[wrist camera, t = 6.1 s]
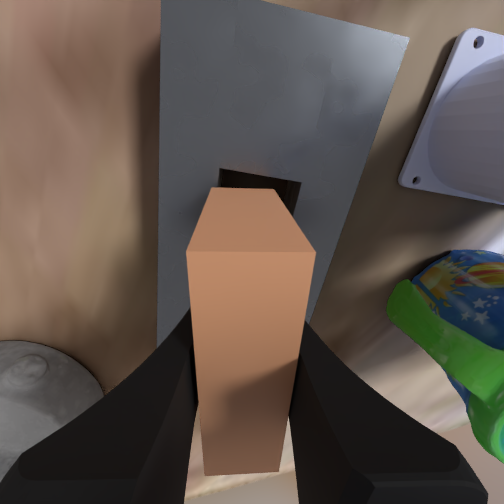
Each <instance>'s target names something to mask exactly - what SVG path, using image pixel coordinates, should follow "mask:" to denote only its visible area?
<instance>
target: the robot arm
mask: <svg viewBox="0 0 504 504" xmlns="http://www.w3.org/2000/svg"><path fill="white" fill-rule="evenodd" d="M475 39H477V42H478V43H477V46H476V48H474V46H473V43H474V40H475ZM415 177H417V180H416V182H415V183H412V181H413V179H414V178H415ZM398 182H399V184H400V185H401V186H404V187H408V188H413V189H419V190H424V191H430V192H435V193H441V194H446V195H452V196H457V197H463V198H468V199H474V200H479V201H485V202H490V203H496V204H501V205H504V35H500V34H496V33H492V32H488V31H485V30H481V29H477V28H470V29H467V30H465V31H463V32H462V33H461V34H459V35H458V37H457V39H456V41H455V43H454V46H453V48H452V50H451V53H450V55H449V58H448V60H447V62H446V65H445V67H444V70H443V72H442V74H441V77H440V79H439V82H438V84H437V86H436V89H435V91H434V94H433V96H432V98H431V101H430V103H429V106H428V108H427V111H426V113H425V115H424V118H423V120H422V123H421V125H420V127H419V130H418V132H417V135H416V137H415V139H414V142H413V144H412V147H411V149H410V151H409V154H408V156H407V159H406V161H405V163H404V166H403V168H402V171H401V173H400V175H399V178H398ZM198 402H199V401H198V389H197V377H196V365H195V353H194V341H193V329H192V317H191V306H190V308H189V309H188V311H187V312H186V314H185V315H184V316H183V318H182V319H181V320H180V322H179V323H178V324H177V325H176V327H175V328H174V329H173V330H172V332H171V333H170V334H169V335H168V336H167V338H166V339H165V340H164V341H163V342H162V343H161V344H160V345H159V346H158V348H157V349H156V350H155V351H154V352H153V353H152V354H151V355H150V356H149V357H148V358H147V359H146V360H145V361H144V362H143V363H142V364H141V365H140V366H139V367H138V368H137V369H136V370H135V371H134V372H132V373H131V374H130V375H129V376H128V377H127V378H126V379H124V380H123V381H122V382H121V383H120V384H119V385H118V386H116V387H115V388H114V389H113V390H111V391H110V392H109V393H108V394H107V395H105V396H104V397H103V398H101V399H100V400H99V401H97V402H96V403H95V404H93V405H92V406H91V407H89V408H88V409H87V410H85V411H84V412H83V413H81V414H80V415H79V416H77V417H76V418H75V419H73V420H72V421H70V422H69V423H67V424H66V425H64V426H63V427H61V428H60V429H58V430H57V431H55V432H54V433H52V434H51V435H49V436H48V437H46V438H45V439H43V440H41V441H40V442H38V443H37V444H35V445H34V446H32V447H31V448H29V449H27V450H26V451H24V452H23V453H22V454H21V455H20V456H19V457H18V459H17V460H16V461H15V463H14V464H13V465H12V467H11V468H10V469H9V470H8V472H7V473H6V474H5V476H4V477H3V479H2V480H1V482H0V504H184V497H185V489H186V481H187V473H188V465H189V458H190V450H191V443H192V436H193V428H194V422H195V417H196V411H197V407H198ZM288 416H289V422H290V429H291V437H292V445H293V453H294V462H295V471H296V479H297V489H298V498H299V504H487V501H488V493H487V491H486V489H485V488H484V486H483V485H482V483H481V482H480V480H479V479H478V477H477V476H476V474H475V473H474V471H473V470H472V468H471V467H470V465H469V464H468V462H467V461H466V459H465V458H464V457H463V455H462V454H461V453H460V451H459V450H458V449H457V447H456V446H455V445H454V444H452V443H451V442H449V441H447V440H446V439H444V438H443V437H441V436H440V435H438V434H436V433H435V432H433V431H432V430H430V429H429V428H427V427H425V426H424V425H422V424H421V423H419V422H418V421H416V420H415V419H413V418H412V417H410V416H409V415H407V414H406V413H405V412H403V411H402V410H400V409H399V408H398V407H396V406H395V405H393V404H392V403H391V402H389V401H388V400H387V399H385V398H384V397H383V396H381V395H380V394H379V393H378V392H376V391H375V390H374V389H373V388H371V387H370V386H369V385H368V384H366V383H365V382H364V381H363V380H362V379H360V378H359V377H358V376H357V375H356V374H355V373H354V372H352V371H351V370H350V369H349V368H348V367H347V366H346V365H345V364H344V363H343V362H342V361H341V360H340V359H339V358H338V357H337V356H336V355H335V354H334V353H333V352H332V351H331V350H330V349H329V348H328V347H327V345H326V344H325V343H324V342H323V341H322V340H321V339H320V337H319V336H318V335H317V334H316V333H315V331H314V330H313V329H312V328H311V327H310V325H309V324H308V323H307V321H306V320H304V326H303V332H302V338H301V344H300V350H299V356H298V362H297V368H296V373H295V379H294V385H293V391H292V397H291V403H290V409H289V415H288Z"/></svg>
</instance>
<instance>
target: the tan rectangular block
mask: <svg viewBox="0 0 504 504" xmlns="http://www.w3.org/2000/svg"><path fill="white" fill-rule="evenodd" d="M186 256H187V268H188V280H189V292H190V304H191V317H192V329H193V341H194V353H195V365H196V377H197V389H198V401H199V413H200V425H201V437H202V449H203V462H204V474H205V476H214V475H231V474H249V473H266V472H279V468H280V462H281V456H282V450H283V444H284V438H285V432H286V426H287V421H288V415H289V409H290V403H291V397H292V391H293V385H294V379H295V373H296V368H297V362H298V356H299V350H300V344H301V338H302V332H303V326H304V320H305V315H306V309H307V303H308V297H309V291H310V285H311V279H312V273H313V267H314V262H315V256H316V252H315V250H314V249H313V247H312V246H311V244H310V243H309V241H308V240H307V238H306V237H305V235H304V234H303V232H302V231H301V229H300V228H299V226H298V225H297V223H296V222H295V220H294V219H293V217H292V216H291V214H290V213H289V211H288V210H287V208H286V207H285V205H284V204H283V202H282V201H281V199H280V198H279V196H278V195H277V193H276V192H275V190H274V189H251V188H215V187H212V188H211V190H210V193H209V195H208V198H207V200H206V203H205V205H204V208H203V210H202V213H201V215H200V218H199V220H198V223H197V225H196V228H195V230H194V233H193V235H192V238H191V240H190V243H189V245H188V248H187V250H186Z"/></svg>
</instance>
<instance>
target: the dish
mask: <svg viewBox="0 0 504 504" xmlns="http://www.w3.org/2000/svg"><path fill="white" fill-rule="evenodd" d="M103 397H104V394H103V391H102V389H101V387H100V385H99V383H98V382H97V380H96V379H95V378H94V376H92V374H91V373H90V372H89V371H88V370H86V369H85V368H84V367H83V366H82V365H80V364H79V363H78V362H77V361H75V360H74V359H72V358H71V357H69V356H67V355H66V354H64V353H62V352H60V351H58V350H56V349H53V348H51V347H48V346H44V345H41V344H37V343H32V342H27V341H0V482H1V480H2V479H3V477H4V476H5V474H6V473H7V472H8V470H9V469H10V468H11V467H12V465H13V464H14V463H15V461H16V460H17V459H18V457H19V456H20V455H21V454H22V453H23V452H24V451H26V450H27V449H29V448H31V447H32V446H34V445H35V444H37V443H38V442H40V441H41V440H43V439H45V438H46V437H48V436H49V435H51V434H52V433H54V432H55V431H57V430H58V429H60V428H61V427H63V426H64V425H66V424H67V423H69V422H70V421H72V420H73V419H75V418H76V417H77V416H79V415H80V414H81V413H83V412H84V411H85V410H87V409H88V408H89V407H91V406H92V405H93V404H95V403H96V402H97V401H99V400H100V399H101V398H103Z"/></svg>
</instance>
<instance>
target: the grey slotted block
mask: <svg viewBox="0 0 504 504" xmlns="http://www.w3.org/2000/svg"><path fill="white" fill-rule="evenodd" d="M409 39H410V38H409V37H405V36H401V35H397V34H393V33H389V32H385V31H381V30H377V29H373V28H369V27H365V26H361V25H357V24H353V23H349V22H345V21H341V20H337V19H333V18H329V17H325V16H321V15H317V14H313V13H309V12H305V11H301V10H297V9H293V8H289V7H285V6H281V5H277V4H273V3H269V2H265V1H261V0H161V44H160V126H159V208H158V289H157V348H158V346H159V345H160V344H161V343H162V342H163V341H164V340H165V339H166V338H167V336H168V335H169V334H170V333H171V332H172V330H173V329H174V328H175V327H176V325H177V324H178V323H179V322H180V320H181V319H182V318H183V316H184V315H185V314H186V312H187V311H188V309H189V308H190V306H191V304H190V292H189V280H188V268H187V256H186V250H187V248H188V245H189V243H190V240H191V238H192V235H193V233H194V230H195V228H196V225H197V223H198V220H199V218H200V215H201V213H202V210H203V208H204V205H205V203H206V200H207V198H208V195H209V193H210V190H211V188H212V187H215V188H221V184H222V175H223V169H229V170H234V171H240V172H246V173H251V174H257V175H263V176H268V177H274V178H280V179H285V180H288V184H287V188H286V192H285V197H284V201H283V204H284V205H285V207H286V208H287V210H288V211H289V213H290V214H291V216H292V217H293V219H294V220H295V222H296V223H297V225H298V226H299V228H300V229H301V231H302V232H303V234H304V235H305V237H306V238H307V240H308V241H309V243H310V244H311V246H312V247H313V249H314V250H315V252H316V256H315V262H314V267H313V273H312V279H311V285H310V291H309V297H308V303H307V309H306V315H305V320H306V321H307V323H308V324H309V322H310V320H311V317H312V314H313V311H314V308H315V305H316V303H317V300H318V297H319V294H320V291H321V288H322V286H323V283H324V280H325V277H326V274H327V271H328V269H329V266H330V263H331V260H332V257H333V254H334V252H335V249H336V246H337V243H338V240H339V237H340V235H341V232H342V229H343V226H344V223H345V220H346V217H347V215H348V212H349V209H350V206H351V203H352V200H353V198H354V195H355V192H356V189H357V186H358V183H359V181H360V178H361V175H362V172H363V169H364V166H365V164H366V161H367V158H368V155H369V152H370V149H371V147H372V144H373V141H374V138H375V135H376V132H377V130H378V127H379V124H380V121H381V118H382V115H383V112H384V110H385V107H386V104H387V101H388V98H389V95H390V93H391V90H392V87H393V84H394V81H395V78H396V76H397V73H398V70H399V67H400V64H401V61H402V59H403V56H404V53H405V50H406V47H407V44H408V42H409Z"/></svg>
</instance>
